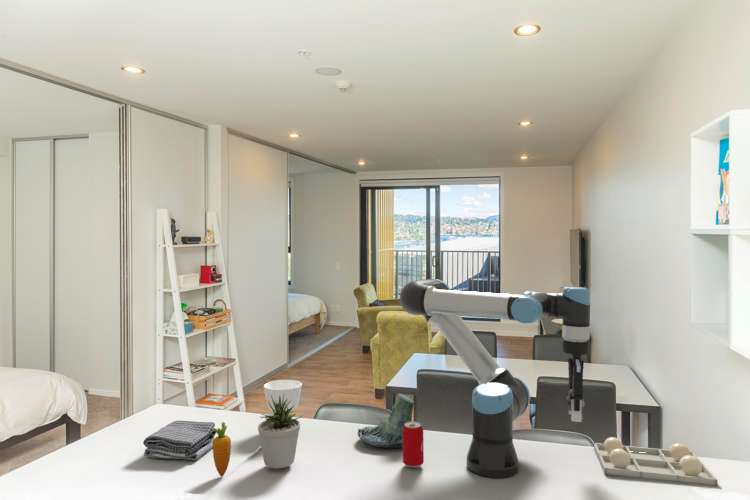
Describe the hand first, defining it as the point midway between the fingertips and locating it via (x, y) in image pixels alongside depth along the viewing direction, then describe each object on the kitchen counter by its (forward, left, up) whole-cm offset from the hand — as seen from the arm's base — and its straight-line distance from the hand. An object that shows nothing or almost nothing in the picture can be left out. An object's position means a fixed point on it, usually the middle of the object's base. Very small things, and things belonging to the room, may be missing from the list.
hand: (574, 417), depth 146 cm
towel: (-120, -20, -15) cm, 123 cm away
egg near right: (+30, +1, -14) cm, 33 cm away
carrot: (-98, -33, -15) cm, 104 cm away
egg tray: (+21, +5, -14) cm, 26 cm away
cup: (-98, +6, -15) cm, 99 cm away
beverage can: (-47, -11, -15) cm, 50 cm away
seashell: (0, 0, -1) cm, 1 cm away
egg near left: (+12, +1, -14) cm, 18 cm away
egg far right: (+30, +10, -14) cm, 35 cm away
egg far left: (+12, +10, -14) cm, 21 cm away
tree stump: (-61, +6, -17) cm, 63 cm away
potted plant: (-86, -20, -15) cm, 89 cm away
